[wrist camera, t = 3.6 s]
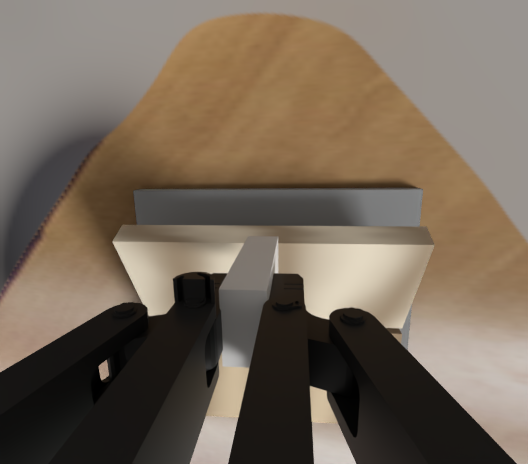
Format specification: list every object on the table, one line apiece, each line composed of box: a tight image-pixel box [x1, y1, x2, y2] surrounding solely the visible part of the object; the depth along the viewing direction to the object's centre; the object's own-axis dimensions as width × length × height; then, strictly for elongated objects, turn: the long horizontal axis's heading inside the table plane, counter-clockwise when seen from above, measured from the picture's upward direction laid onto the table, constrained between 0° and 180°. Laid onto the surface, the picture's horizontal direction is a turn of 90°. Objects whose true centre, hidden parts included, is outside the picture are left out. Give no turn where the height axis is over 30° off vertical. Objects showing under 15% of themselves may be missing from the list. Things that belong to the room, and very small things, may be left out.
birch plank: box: [112, 225, 434, 328], centre depth 22 cm, size 18×8×2 cm, turn 91°
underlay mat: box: [133, 188, 423, 349], centre depth 26 cm, size 20×18×1 cm
